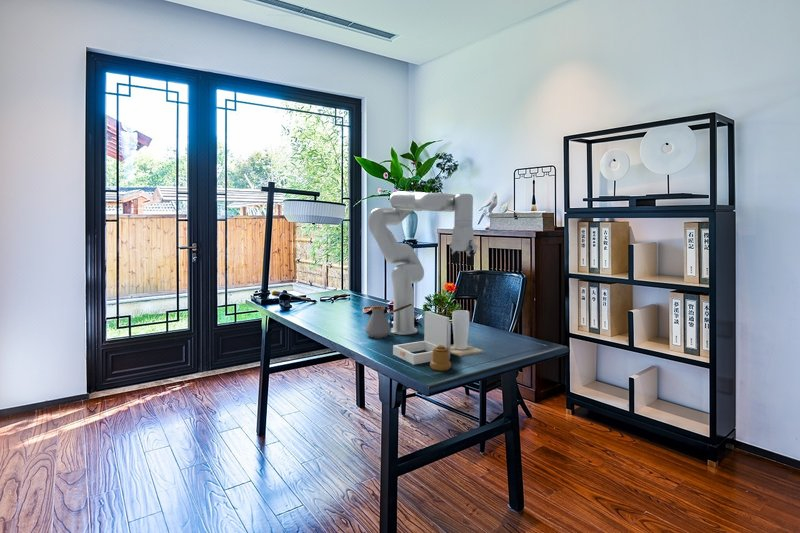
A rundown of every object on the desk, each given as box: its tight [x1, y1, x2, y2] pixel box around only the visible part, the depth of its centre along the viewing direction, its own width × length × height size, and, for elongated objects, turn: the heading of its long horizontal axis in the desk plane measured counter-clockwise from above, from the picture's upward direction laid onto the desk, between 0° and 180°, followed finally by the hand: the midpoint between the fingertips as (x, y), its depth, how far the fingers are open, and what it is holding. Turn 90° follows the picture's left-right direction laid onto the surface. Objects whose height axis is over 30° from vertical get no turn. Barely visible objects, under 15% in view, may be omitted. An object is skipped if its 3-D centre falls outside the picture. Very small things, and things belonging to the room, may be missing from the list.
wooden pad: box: [450, 343, 485, 358], centre depth 190 cm, size 14×12×1 cm
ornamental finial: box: [429, 345, 452, 372], centre depth 167 cm, size 8×8×8 cm
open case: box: [392, 310, 452, 366], centre depth 180 cm, size 16×16×16 cm
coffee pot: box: [364, 304, 413, 339], centre depth 211 cm, size 21×12×15 cm, turn 85°
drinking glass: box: [451, 309, 470, 350], centre depth 189 cm, size 7×7×15 cm
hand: (462, 264), depth 199 cm, fingers open, 9 cm apart
